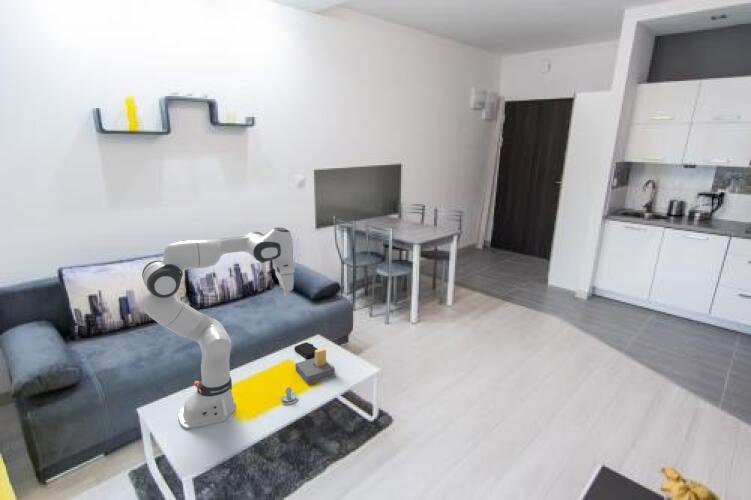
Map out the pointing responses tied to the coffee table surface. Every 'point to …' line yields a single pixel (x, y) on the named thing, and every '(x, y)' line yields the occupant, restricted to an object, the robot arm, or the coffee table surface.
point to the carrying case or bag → (306, 350)
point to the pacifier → (289, 396)
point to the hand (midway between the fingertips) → (284, 292)
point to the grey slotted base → (314, 370)
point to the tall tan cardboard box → (320, 357)
